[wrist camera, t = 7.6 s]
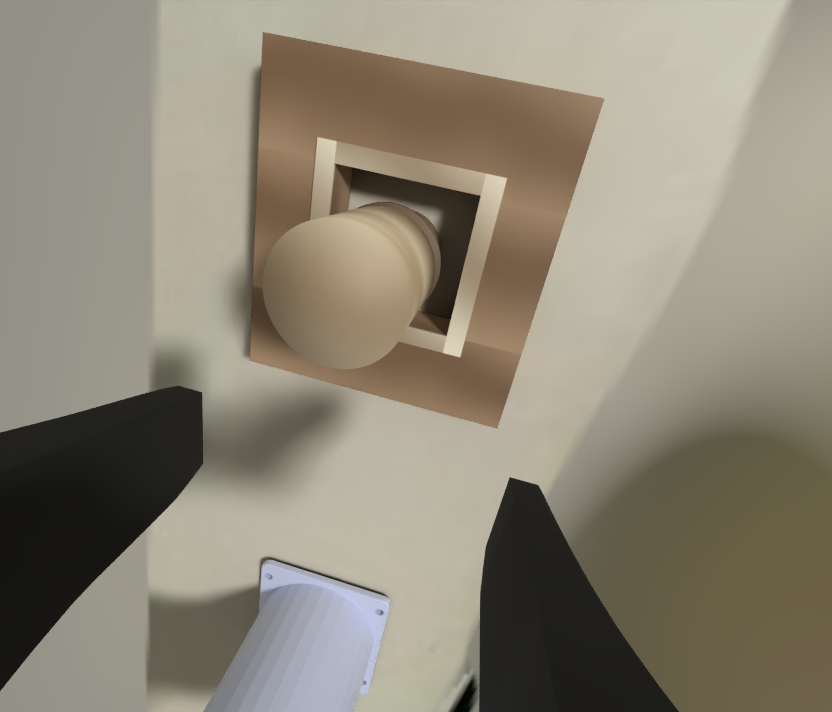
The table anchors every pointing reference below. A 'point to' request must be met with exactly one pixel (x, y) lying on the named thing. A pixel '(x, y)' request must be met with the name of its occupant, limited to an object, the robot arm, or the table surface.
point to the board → (431, 164)
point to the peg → (351, 282)
